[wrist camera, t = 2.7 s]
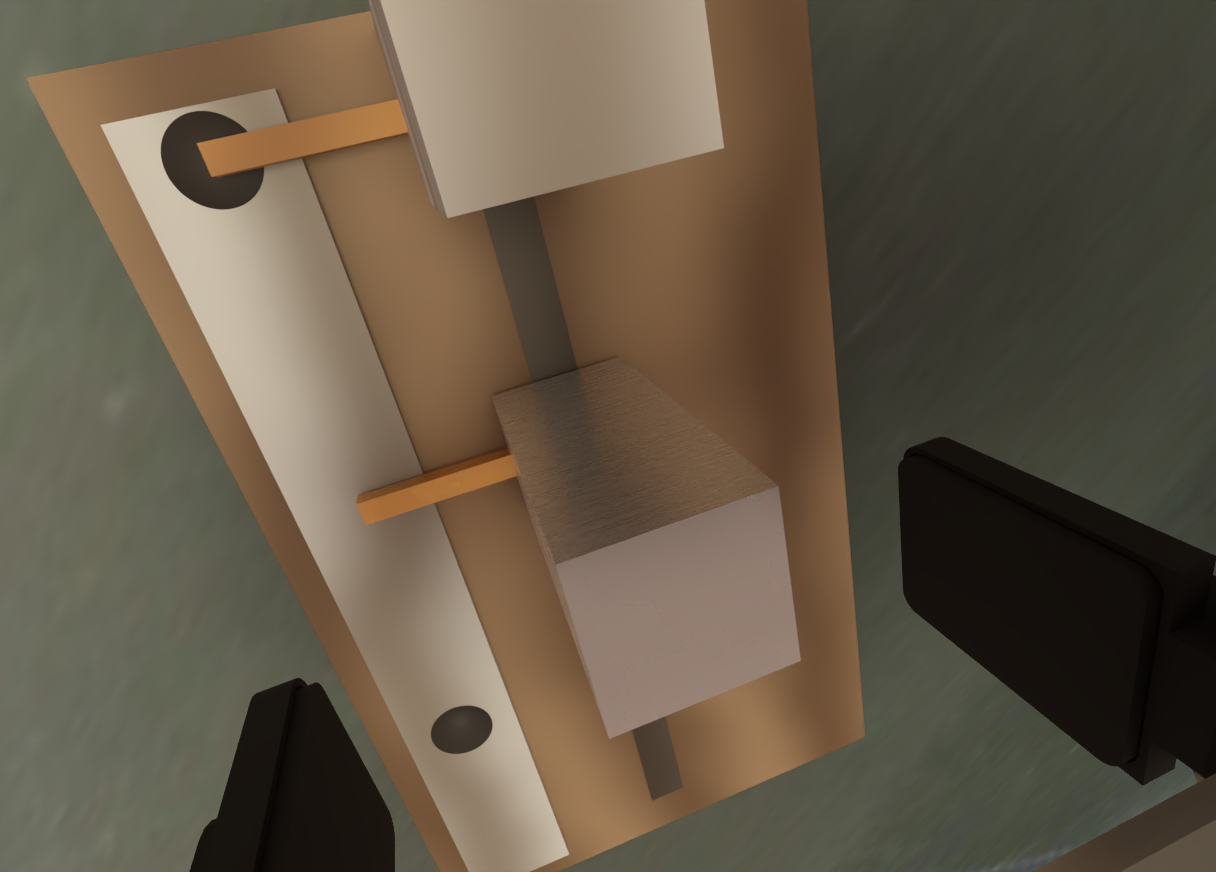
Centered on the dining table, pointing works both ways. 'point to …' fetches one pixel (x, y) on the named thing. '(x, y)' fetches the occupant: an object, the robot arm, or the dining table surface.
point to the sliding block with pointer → (637, 538)
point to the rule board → (493, 357)
